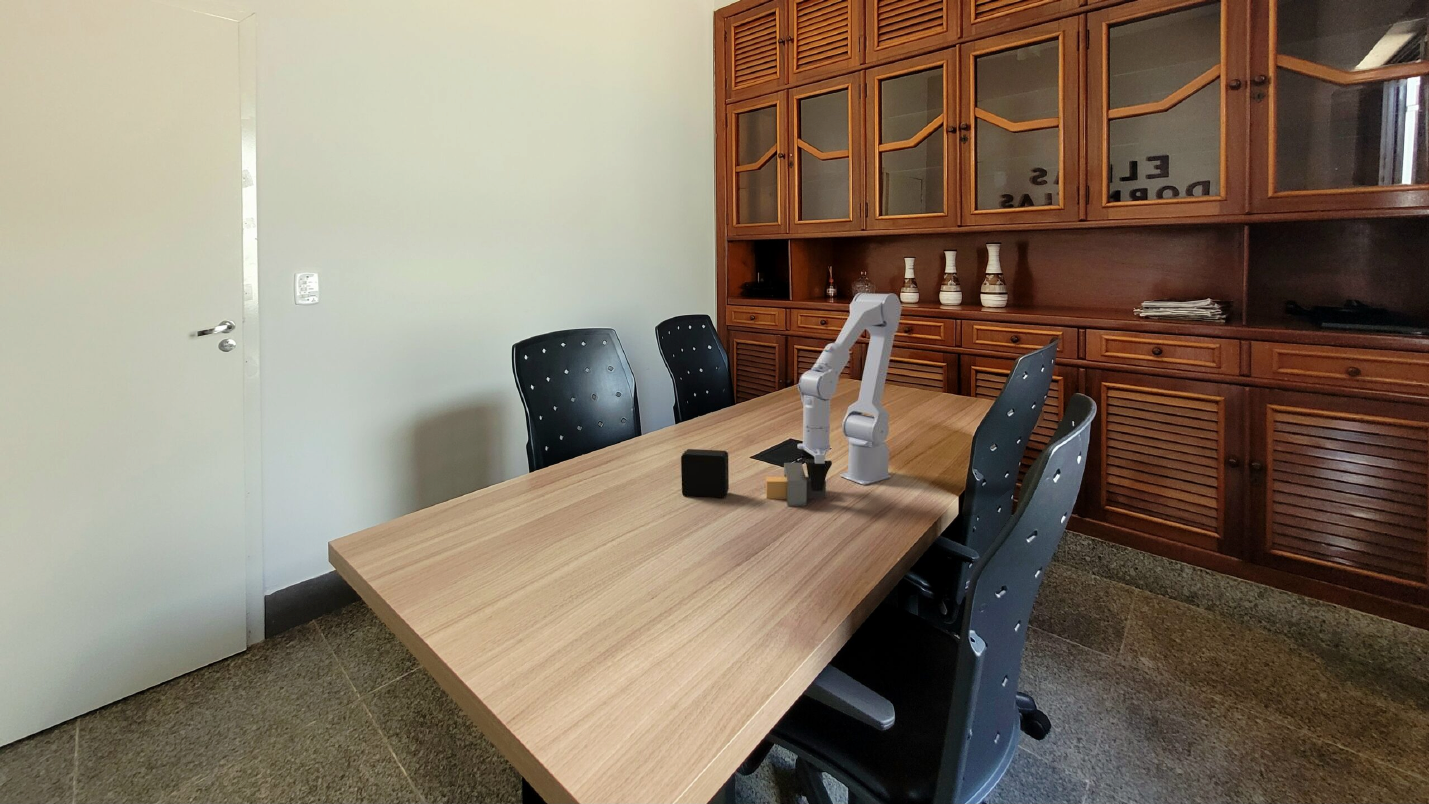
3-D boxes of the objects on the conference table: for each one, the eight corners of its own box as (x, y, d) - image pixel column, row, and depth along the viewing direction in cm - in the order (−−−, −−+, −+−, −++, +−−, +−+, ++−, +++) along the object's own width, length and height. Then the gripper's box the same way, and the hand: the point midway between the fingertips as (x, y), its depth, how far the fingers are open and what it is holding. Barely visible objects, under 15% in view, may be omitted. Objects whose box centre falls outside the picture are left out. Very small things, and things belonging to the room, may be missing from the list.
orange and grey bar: (823, 493, 138) (824, 476, 137) (825, 498, 135) (826, 481, 134) (766, 493, 138) (766, 476, 137) (766, 498, 135) (766, 481, 135)
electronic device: (725, 499, 135) (725, 456, 133) (681, 496, 137) (680, 454, 135) (728, 492, 139) (728, 450, 137) (686, 489, 141) (685, 448, 139)
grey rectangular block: (801, 486, 142) (801, 462, 141) (806, 506, 131) (806, 480, 129) (783, 486, 143) (784, 462, 141) (787, 506, 131) (787, 480, 130)
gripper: (795, 417, 140) (794, 473, 143) (801, 434, 126) (800, 496, 129) (826, 417, 140) (824, 473, 143) (835, 434, 126) (833, 496, 129)
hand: (815, 484), depth 136 cm, fingers open, 7 cm apart
